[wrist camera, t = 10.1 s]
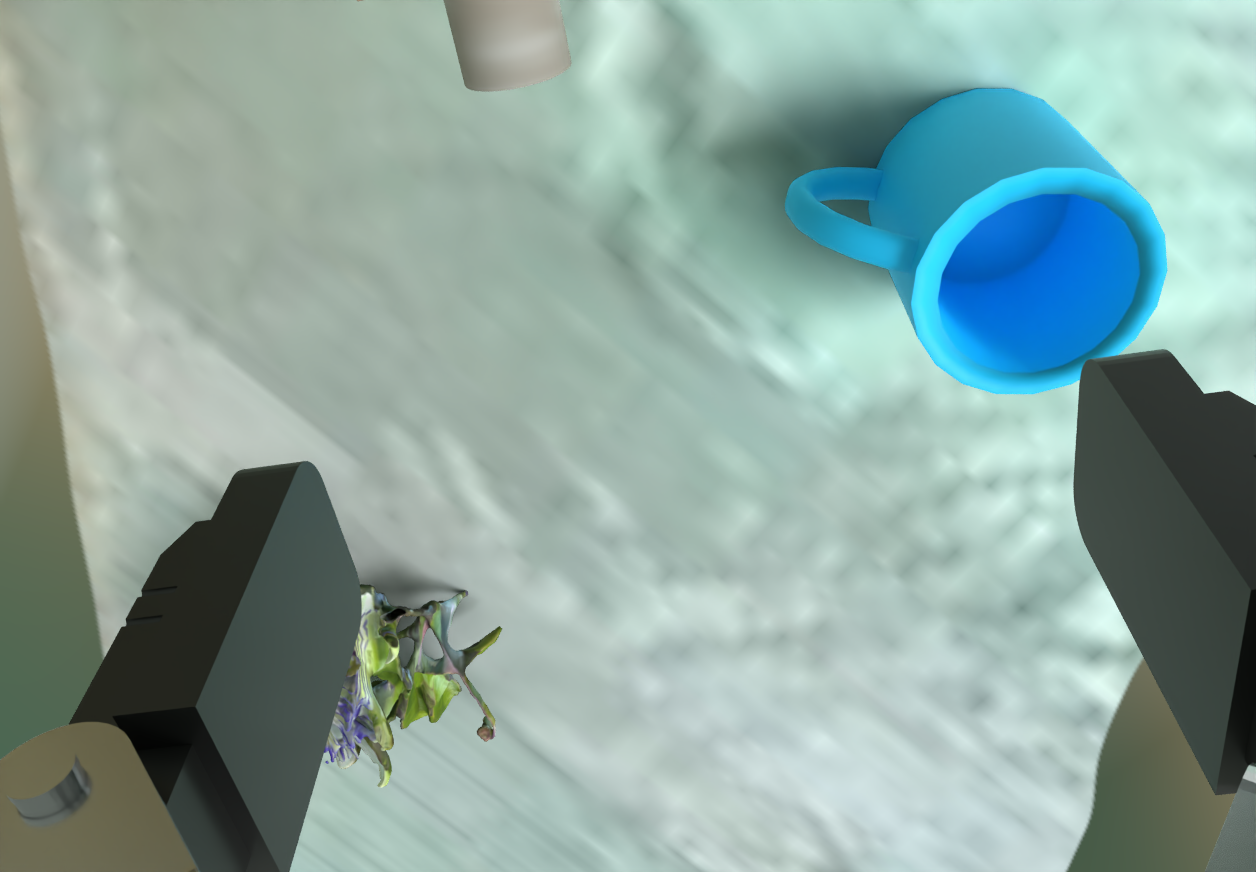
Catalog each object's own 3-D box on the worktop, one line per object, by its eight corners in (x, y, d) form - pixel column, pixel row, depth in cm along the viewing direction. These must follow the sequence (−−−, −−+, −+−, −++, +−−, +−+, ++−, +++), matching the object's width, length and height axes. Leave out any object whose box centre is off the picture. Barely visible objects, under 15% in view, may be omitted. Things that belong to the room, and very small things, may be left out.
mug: (1117, 106, 43) (1211, 188, 36) (1038, 303, 47) (1109, 410, 40) (799, 52, 42) (833, 126, 35) (749, 259, 46) (770, 361, 39)
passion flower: (329, 511, 60) (202, 522, 48) (534, 527, 57) (454, 542, 46) (315, 731, 59) (183, 797, 48) (520, 755, 57) (435, 829, 46)
